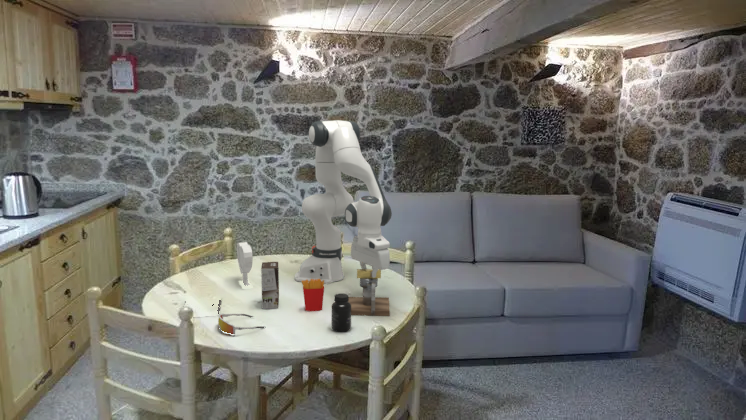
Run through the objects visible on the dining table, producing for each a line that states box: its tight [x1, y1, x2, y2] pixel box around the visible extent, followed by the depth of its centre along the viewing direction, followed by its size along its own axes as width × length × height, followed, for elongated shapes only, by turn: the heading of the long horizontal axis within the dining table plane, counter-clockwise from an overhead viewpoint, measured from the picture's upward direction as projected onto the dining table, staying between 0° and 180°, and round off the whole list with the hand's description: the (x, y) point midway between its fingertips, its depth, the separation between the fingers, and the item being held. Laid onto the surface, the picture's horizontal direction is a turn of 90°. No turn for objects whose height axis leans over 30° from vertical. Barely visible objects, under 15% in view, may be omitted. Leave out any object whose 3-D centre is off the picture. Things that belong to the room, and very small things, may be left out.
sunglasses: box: [217, 313, 266, 335], centre depth 172 cm, size 14×15×5 cm
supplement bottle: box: [330, 293, 352, 333], centre depth 171 cm, size 7×7×12 cm
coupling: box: [356, 268, 382, 290], centre depth 187 cm, size 9×10×6 cm
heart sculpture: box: [236, 241, 253, 286], centre depth 214 cm, size 16×5×18 cm, turn 26°
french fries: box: [301, 279, 325, 312], centre depth 188 cm, size 8×4×12 cm, turn 99°
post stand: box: [348, 282, 391, 317], centre depth 190 cm, size 14×16×12 cm
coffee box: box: [260, 261, 280, 310], centre depth 192 cm, size 9×6×16 cm
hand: (368, 275), depth 189 cm, fingers closed on coupling, 4 cm apart
